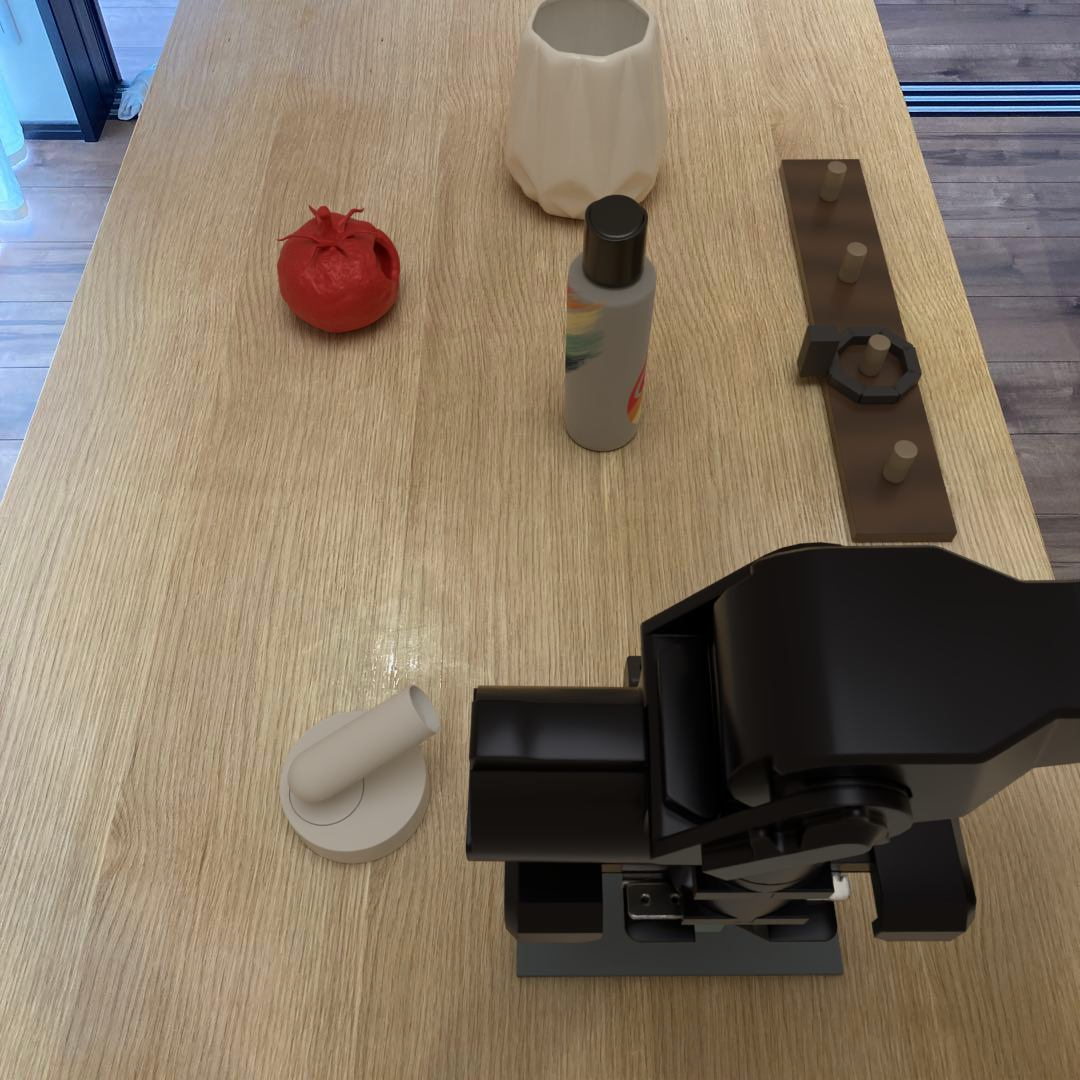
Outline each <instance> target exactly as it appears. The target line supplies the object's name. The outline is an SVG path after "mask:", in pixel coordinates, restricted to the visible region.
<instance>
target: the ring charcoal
mask: <svg viewBox="0 0 1080 1080" xmlns="http://www.w3.org/2000/svg"><path fill="white" fill-rule="evenodd" d="M877 334H879V335H884V336H886V337H887V338H888V339H889V340H890V343H891V345H890V348H889V350H888V352H890V353H892V354H893V355H895V356H896V357H898V358H900V362H901V366H902V370H903V374H904V375H903V376H902V377H901V378H900V379H899V380H898V381H897V382H896V383H895V384H894V385H893V386H864V385H863V384H861V383H860V382H858V381H857V380H855V379H854V378H852V377H850V376H849V375H847V374H846V373H844V372H843V371H842V370H841V365H840V361H839V356H838V355H839V354H840V353H842V352H843V351H844V350H845V349H846V348H847V347H848V346H849V345H850V344H868V341H869V339H870V337H872V336H873V335H877ZM796 365H797V371H798V376H799V377H800V378H820V377H826V380H827V382H829V383H828V384H829V385H830V386H832V387H833V388H835V389H836V390H838V391H839V392H841V393H842V394H844V395H845V396H847V397H848V398H850V399H852V400H853V401H855V402H856V403H858V402H860V404H895V403H896V402H897V403H898V402H899V401H900V400H901V399H902V398H903V397H904V396H905V395H906V394H907V393H908V392H910V391H911V390H912V389H913V388H914V387H915V386H916V385H917V384H918V385H919V382H920V380H921V378H922V374H923V372H922V368H921V364H920V360H919V356H918V352H917V350H916V347H915V346H914V344H913V343H911V342H909V341H908V340H907V341H906V340H904V339H903V338H901V337H899V336H898V335H896V334H895V333H893V332H891V331H890V330H888V329H886V328H885V327H884V328H883V329H882V327H848V328H845V329H843V330H842V331H841V332H840V333H838V328H837V325H810V324H809V325H807V326H806V330H805V332H804V336H803V339H802V342H801V346H800V350H799V352H798V356H797V359H796Z"/></svg>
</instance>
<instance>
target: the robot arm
mask: <svg viewBox="0 0 1080 1080" xmlns="http://www.w3.org/2000/svg"><path fill="white" fill-rule="evenodd" d="M639 635H640V636H639V639H640V655H628V656H626V660H625V663H624V667H623V681H622V686H593V685H592V686H589V685H588V686H587V685H586V686H585V685H584V686H583V685H582V686H579V685H577V686H575V685H568V686H567V685H501V684H499V685H493V684H491V685H490V684H489V685H488V684H485V685H484V684H478V686H477V687H473V695H472V701H471V707H470V709H471V710H470V729H469V746H468V762H469V773H468V790H467V791H468V793H467V810H466V811H467V812H466V826H465V827H466V829H465V857H466V860H467V861H468V862H489V863H491V862H494V863H495V862H496V863H498V862H499V863H502V862H503V863H504V873H503V874H504V877H503V878H504V879H503V881H504V882H503V920H504V927H505V930H506V931H507V932H508V933H509V934H510V935H511V936H512V937H513V938H514V939H515V941H516V942H517V941H518V942H519V943H583V942H588V941H592V940H597V939H602V935H603V887H602V874H621V888H622V895H623V918H624V930H625V933H626V935H627V936H628V937H629V938H630V939H631V940H632V941H634V942H638V943H695V942H696V938H695V925H735V926H737V927H739V928H741V929H743V930H745V931H747V932H750V933H752V934H754V935H755V936H757V937H759V938H761V939H764V940H766V941H768V942H827V941H830V940H831V939H833V938H834V937H835V935H836V933H837V931H838V929H839V928H838V927H839V926H838V920H837V913H836V907H835V902H845V901H848V900H849V899H850V898H851V897H852V889H851V882H850V879H849V877H848V875H847V874H869V877H870V881H871V882H870V883H871V887H872V894H873V899H874V905H875V910H876V918H875V919H874V920H872V921H871V922H870V923H871V930H872V935H873V938H874V939H878V940H881V941H884V942H952V941H954V940H955V939H957V938H958V937H960V936H962V935H963V934H964V933H966V932H967V931H968V930H969V928H970V926H971V925H972V923H973V922H974V920H975V919H976V910H977V901H978V900H977V896H976V889H975V885H974V881H973V877H972V873H971V872H972V871H971V869H970V863H969V858H968V854H967V850H966V845H965V840H964V836H963V832H962V827H961V823H960V818H963V817H965V816H968V815H970V814H971V813H972V812H973V811H975V810H977V809H978V808H979V807H980V806H982V805H984V804H986V803H987V801H989V800H991V799H992V798H993V797H994V796H996V795H998V794H999V793H1000V792H1002V791H1003V790H1005V789H1006V788H1007V787H1009V786H1010V785H1012V784H1013V783H1014V782H1016V781H1017V780H1019V779H1020V778H1022V777H1023V776H1025V775H1026V774H1027V773H1028V772H1030V771H1031V770H1034V769H1037V768H1039V769H1040V768H1046V767H1056V766H1064V765H1065V766H1066V765H1073V764H1080V578H1073V579H1037V580H1036V579H1025V580H1024V579H1019V578H1016V577H1014V576H1012V575H1010V574H1007V573H1005V572H1002V571H1001V570H998V569H995V568H993V567H990V566H988V565H985V564H983V563H980V562H978V561H976V560H973V559H971V558H969V557H966V556H964V555H962V554H959V553H956V552H954V551H952V550H950V549H947V548H945V547H942V546H939V545H934V544H884V545H883V544H881V545H880V544H879V545H876V544H875V545H843V544H841V543H833V542H825V541H816V542H815V541H813V542H801V543H796V544H790V545H787V546H781V547H779V548H777V549H775V550H772V551H770V552H768V553H765V554H763V555H762V556H760V557H758V558H756V559H754V560H753V561H751V562H749V563H747V564H745V565H744V566H741V567H739V568H738V569H736V570H734V571H732V572H730V573H728V574H727V575H726V576H723V577H721V578H720V579H718V580H716V581H715V582H713V583H711V584H709V585H707V586H705V587H704V588H702V589H700V590H698V591H696V592H695V593H692V594H691V595H689V596H687V597H685V598H684V599H682V600H681V601H679V602H677V603H674V604H673V605H671V606H669V607H667V608H666V609H664V610H662V611H660V612H658V613H656V614H655V615H652V616H651V617H649V618H647V619H645V620H644V621H642V622H641V623H640V624H639Z"/></svg>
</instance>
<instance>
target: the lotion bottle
mask: <svg viewBox="0 0 1080 1080" xmlns="http://www.w3.org/2000/svg"><path fill="white" fill-rule="evenodd" d="M648 228H649V213H648V211H647V209H646V208H645V207H644V206H643V205H641V204H639V203H637V202H636V201H635V200H634V199H632V198H630V197H628V196H625V195H609V196H606V197H603V198H601V199H600V200H597V201H594V202H592V203H591V204H590V205H589V206H588V207H587V209H586V211H585V219H584V220H583V238H582V239H583V240H582V251H581V252H580V253H579V254H578V255H577V256H575V257H574V259H573V260H572V261H571V263H570V265H569V268H568V272H567V281H566V282H567V284H566V288H567V289H566V312H565V313H566V315H565V317H566V319H565V320H566V321H565V351H564V352H565V356H564V357H565V358H564V396H563V397H564V398H563V418H564V426H565V429H566V432H567V434H568V435H569V437H570V438H571V440H573V441H574V442H575V443H576V444H578V445H579V446H581V447H582V448H585V449H588V450H591V451H595V452H611V451H613V450H617V449H620V448H621V447H622V448H623V447H624V446H625V445H627V444H628V443H629V442H631V440H632V439H633V438H634V437H635V435H636V433H637V431H638V429H639V424H640V419H641V412H642V406H643V405H642V404H643V395H644V388H645V379H646V371H647V365H648V364H647V363H648V356H649V355H648V354H649V348H650V347H649V346H650V339H651V331H652V323H653V315H654V314H653V313H654V308H655V307H654V306H655V299H656V291H657V290H656V289H657V271H656V268H655V266H654V264H653V262H652V261H651V260H650V259H649V258H648V256H646V250H647V239H648Z"/></svg>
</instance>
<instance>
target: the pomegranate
mask: <svg viewBox="0 0 1080 1080" xmlns="http://www.w3.org/2000/svg"><path fill="white" fill-rule="evenodd" d="M308 209H309V211H310V213H312V215H313V216H314V217H312V218H310V219H309V220H307V221H306V222H305V223H304V224H303V225H301V226H300V227H299V228H297V229H296V230H295V231H294V232H293V233H290V234H288V235H286V236H285V237H282V238H275V241H277V242H284V243H283V245H282V246H281V249H280V252H279V257H278V259H277V262H276V270H277V277H278V278H277V279H278V280H277V281H278V287H279V292H280V295H281V298H282V299H283V301H284V303H285V304H286V305H287V306H288V307H289V309H290V311H292V313H293V314H294V315H295V316H297V317H298V318H299V319H301V320H303V321H304V322H306V323H308V324H309V325H311V326H312V327H313V328H317V329H320V330H323V331H325V332H327V333H336V334H338V333H346V332H350V331H355V330H359V329H362V328H366V327H367V326H369V325H371V324H373V323H375V322H376V321H377V320H379V319H380V318H382V317H383V316H384V315H385V314H386V313H387V312H389V311H390V310H391V308H392V306H393V305H394V304H395V303H396V301H397V299H398V295H399V292H400V275H401V262H400V260H401V259H400V255H399V252H398V250H397V248H396V245H395V244H394V242H393V240H392V239H391V238H390V237H389V236H388V235H387V233H385V231H383V230H382V229H380V228H376V226H375V225H374V224H372V223H371V222H370V221H366V220H360V219H356V218H353V217H352V216H353V215H354V214H355V213H358V214H359V213H361V214H362V213H363V212H364V211H365V207H364V206H363V207H362V208H361V209H360V208H356V207H355V208H351V209H350V210H349V211H348V213H347V214H346V215H344V214H342V213H339V212H335V211H334V212H333V211H331V210H330V209H329V207H328V206H326V205H321V206H319V207H318V208H317V209H315V208H314V207H312V206H311V204H308Z"/></svg>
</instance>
